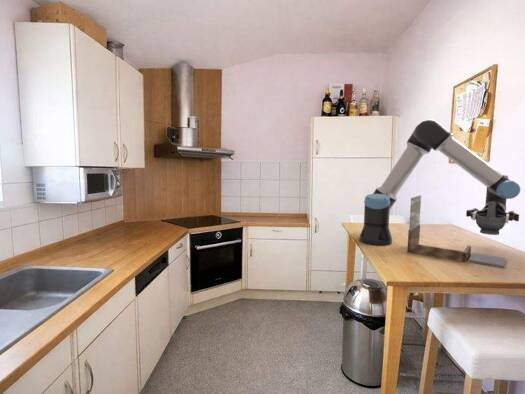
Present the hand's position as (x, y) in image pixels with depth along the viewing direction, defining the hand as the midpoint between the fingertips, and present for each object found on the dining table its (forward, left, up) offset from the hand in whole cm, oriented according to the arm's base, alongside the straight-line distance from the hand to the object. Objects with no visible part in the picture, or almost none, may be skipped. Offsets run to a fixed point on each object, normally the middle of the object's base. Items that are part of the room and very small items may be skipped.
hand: (490, 218), depth 113 cm
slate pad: (0, +4, -18) cm, 19 cm away
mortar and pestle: (0, +4, -7) cm, 8 cm away
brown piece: (-17, +4, -18) cm, 25 cm away
